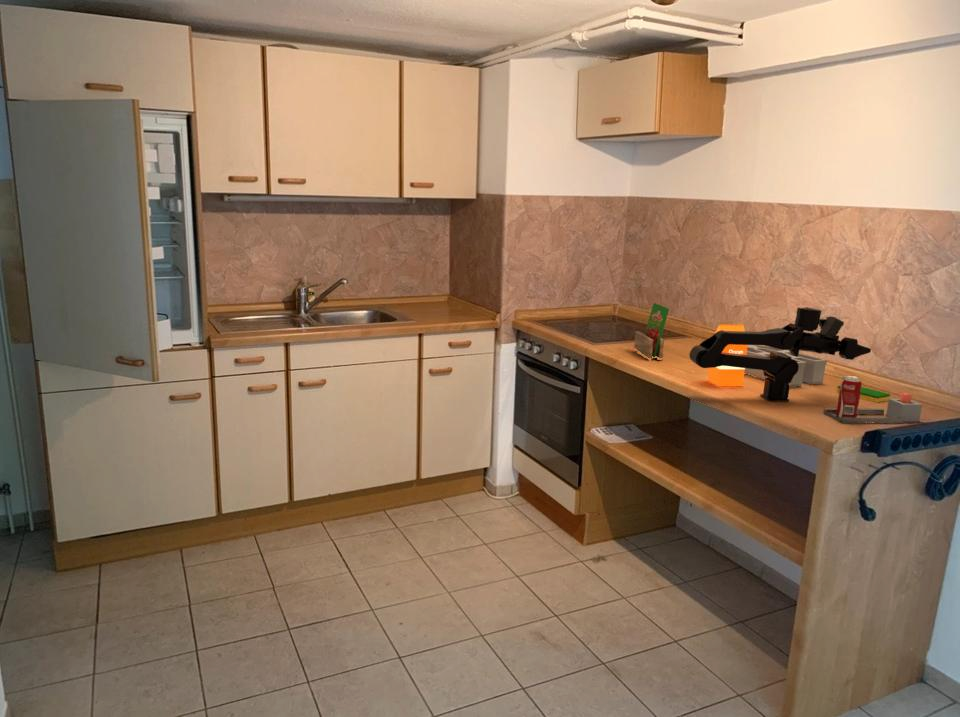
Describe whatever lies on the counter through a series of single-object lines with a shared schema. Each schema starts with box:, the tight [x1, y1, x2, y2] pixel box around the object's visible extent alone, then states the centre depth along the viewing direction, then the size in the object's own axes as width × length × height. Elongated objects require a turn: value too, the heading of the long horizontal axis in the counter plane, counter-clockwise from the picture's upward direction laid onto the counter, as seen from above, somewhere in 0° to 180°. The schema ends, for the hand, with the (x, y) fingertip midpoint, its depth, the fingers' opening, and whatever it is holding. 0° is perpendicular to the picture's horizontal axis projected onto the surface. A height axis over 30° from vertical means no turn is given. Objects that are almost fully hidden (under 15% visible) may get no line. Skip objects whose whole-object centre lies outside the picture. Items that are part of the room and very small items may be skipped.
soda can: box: [836, 375, 862, 417], centre depth 210 cm, size 5×5×12 cm
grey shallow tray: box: [823, 408, 904, 424], centre depth 212 cm, size 18×9×2 cm, turn 97°
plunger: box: [899, 392, 913, 403], centre depth 213 cm, size 3×3×5 cm
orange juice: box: [707, 324, 747, 387], centre depth 244 cm, size 8×9×20 cm
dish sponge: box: [836, 385, 891, 403], centre depth 237 cm, size 7×14×2 cm, turn 30°
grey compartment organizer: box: [744, 345, 828, 388], centre depth 259 cm, size 17×28×9 cm, turn 28°
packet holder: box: [633, 330, 665, 359], centre depth 284 cm, size 5×17×8 cm, turn 7°
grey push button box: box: [886, 398, 923, 422], centre depth 213 cm, size 6×6×5 cm
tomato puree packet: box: [643, 302, 670, 357], centre depth 283 cm, size 15×1×20 cm, turn 9°
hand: (861, 348), depth 227 cm, fingers open, 9 cm apart
